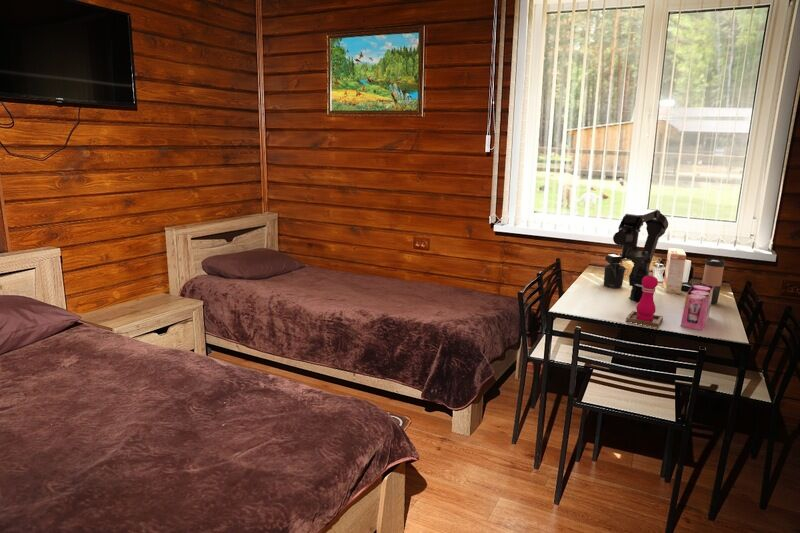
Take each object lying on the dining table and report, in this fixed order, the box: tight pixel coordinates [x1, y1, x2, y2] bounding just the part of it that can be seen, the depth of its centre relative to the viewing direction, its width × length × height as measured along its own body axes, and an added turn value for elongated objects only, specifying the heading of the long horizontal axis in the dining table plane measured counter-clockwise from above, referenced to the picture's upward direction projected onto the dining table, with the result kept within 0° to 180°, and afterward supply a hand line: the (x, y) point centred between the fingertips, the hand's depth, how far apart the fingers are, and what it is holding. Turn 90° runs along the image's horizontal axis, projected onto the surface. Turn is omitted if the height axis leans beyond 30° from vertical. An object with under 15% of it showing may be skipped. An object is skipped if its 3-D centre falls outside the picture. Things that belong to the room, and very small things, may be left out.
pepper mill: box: [635, 271, 659, 322], centre depth 225 cm, size 7×7×20 cm
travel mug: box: [701, 257, 726, 305], centre depth 255 cm, size 8×8×20 cm
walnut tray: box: [625, 310, 664, 329], centre depth 227 cm, size 12×12×2 cm
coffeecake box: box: [662, 247, 687, 295], centre depth 276 cm, size 15×7×20 cm, turn 159°
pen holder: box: [603, 264, 626, 289], centre depth 279 cm, size 9×9×10 cm
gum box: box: [680, 282, 714, 331], centre depth 227 cm, size 24×8×14 cm, turn 146°
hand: (625, 277), depth 244 cm, fingers open, 9 cm apart
